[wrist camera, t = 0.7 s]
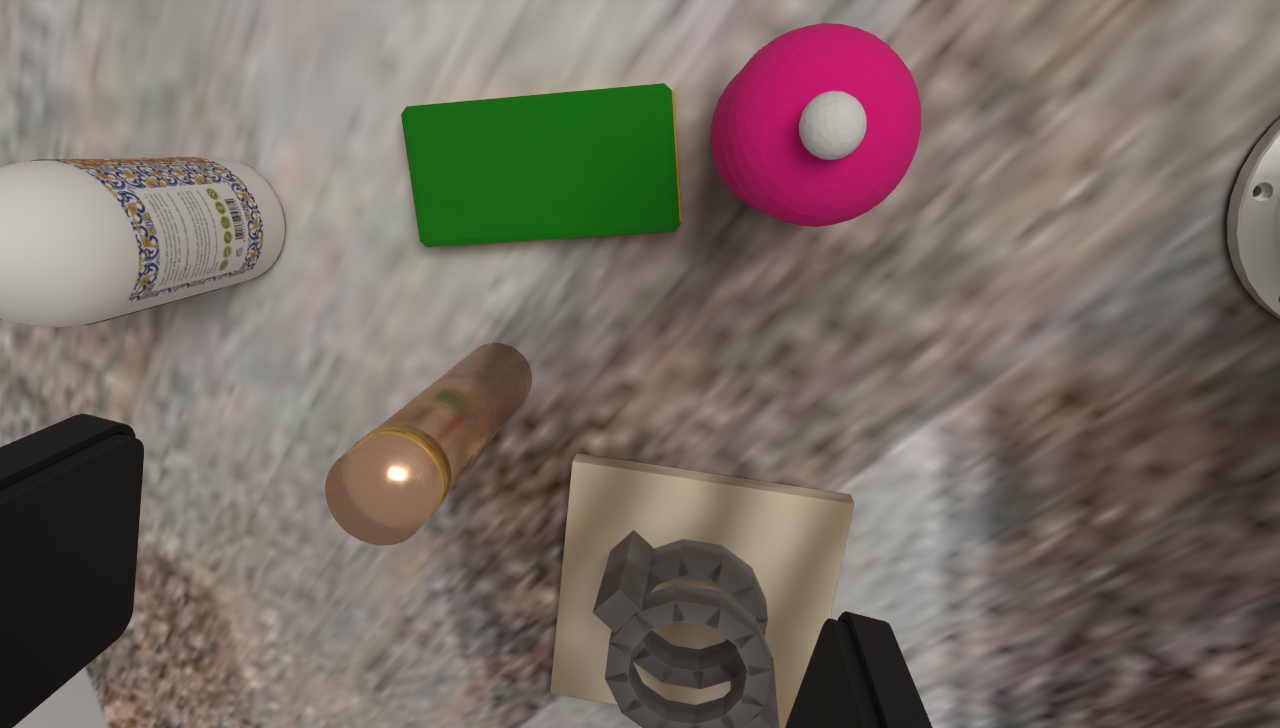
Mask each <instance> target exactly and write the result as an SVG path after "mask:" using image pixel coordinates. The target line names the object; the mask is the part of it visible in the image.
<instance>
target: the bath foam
mask: <svg viewBox="0 0 1280 728" xmlns="http://www.w3.org/2000/svg"><path fill="white" fill-rule="evenodd" d="M284 236H285V222H284V216H283V212H282V208H281V205H280V203H279V201H278V198H277V196H276V195H275V193H274V191H273V190H272V188H271V187H270V186H269V184H268V183H267V182H266V181H265V180H264V179H263V178H262V177H261V176H260V175H259V174H258V173H257V172H255V171H254V170H253V169H251V168H250V167H248V166H246V165H244V164H242V163H240V162H237V161H235V160H231V159H227V158H220V157H168V158H110V159H52V160H34V161H29V162H22V163H17V164H12V165H8V166H4V167H1V168H0V319H4V320H7V321H10V322H15V323H19V324H24V325H31V326H39V327H69V326H78V325H88V324H95V323H98V322H102V321H105V320H109V319H113V318H116V317H120V316H123V315H127V314H131V313H134V312H138V311H142V310H145V309H149V308H152V307H156V306H160V305H163V304H167V303H170V302H174V301H178V300H181V299H185V298H188V297H192V296H196V295H199V294H203V293H206V292H210V291H214V290H217V289H221V288H222V287H226V286H230V285H233V284H237V283H240V282H244V281H247V280H250V279H253V278H255V277H257V276H259V275H261V274H262V273H264V272H265V271H267V270H268V269H269V268H270V267H271V266H272V265H273V263H274V262H275V261H276V259H277V258H278V256H279V254H280V252H281V249H282V246H283V242H284Z"/></svg>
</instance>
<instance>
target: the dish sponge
mask: <svg viewBox="0 0 1280 728" xmlns="http://www.w3.org/2000/svg"><path fill="white" fill-rule="evenodd" d="M401 116H402V123H403V129H404V136H405V143H406V150H407V156H408V163H409V170H410V177H411V183H412V190H413V197H414V203H415V210H416V217H417V224H418V230H419V237H420V241H421V242H422V243H423V244H424V245H425V246H427V247H433V246H449V245H464V244H480V243H495V242H511V241H526V240H541V239H557V238H572V237H588V236H603V235H619V234H634V233H650V232H665V231H674V230H675V228H676V227H677V226H678V225H679V224H680V222H681V221H682V214H681V197H680V180H679V164H678V147H677V131H676V114H675V97H674V92H673V91H672V90H671V89H670V88H668V87H667V86H666V85H665V84H664V83H663V84H652V85H641V86H630V87H619V88H608V89H597V90H586V91H574V92H563V93H552V94H541V95H530V96H519V97H508V98H497V99H486V100H475V101H464V102H453V103H441V104H430V105H419V106H408V107H406V108H405V110H404V111H403V112H402V114H401Z"/></svg>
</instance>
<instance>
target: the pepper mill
mask: <svg viewBox="0 0 1280 728" xmlns="http://www.w3.org/2000/svg"><path fill="white" fill-rule="evenodd" d="M920 130H921V105H920V100H919V95H918V90H917V87H916V85H915V82H914V80H913V77H912V75H911V73H910V71H909V70H908V68H907V67H906V65H905V64H904V63H903V61H902V60H901V58H900V57H899V56H898V55H897V54H896V53H895V52H894V51H893V50H892V49H891V48H890V47H889V46H888V45H887V44H886V43H884V42H883V41H882V40H880V39H879V38H877V37H876V36H875V35H873V34H870V33H868V32H866V31H864V30H861V29H859V28H856V27H851V26H847V25H843V24H828V23H823V24H817V25H811V26H806V27H803V28H799V29H796V30H792V31H790V32H788V33H786V34H784V35H781V36H779V37H777V38H776V39H774V40H773V41H771V42H770V43H768V44H767V45H766V46H764V47H763V48H762V49H760V50H759V51H758V52H757V53H756V54H755V55H754V56H753V57H752V58H751V59H750V60H749V62H748V63H747V64H746V65H745V66H744V68H743V69H742V70H741V71H740V72H739V73H738V74H737V75H736V76H735V77H734V78H733V80H732V81H731V82H730V83H729V84H728V86H727V87H726V89H725V91H724V92H723V94H722V95H721V97H720V99H719V101H718V104H717V107H716V109H715V112H714V115H713V120H712V126H711V148H712V154H713V158H714V162H715V165H716V167H717V170H718V172H719V174H720V176H721V178H722V179H723V181H724V182H725V184H726V185H727V187H728V188H729V189H730V190H731V191H732V192H733V193H734V194H735V195H736V196H737V197H738V198H739V199H741V200H742V201H743V202H744V203H746V204H748V205H750V206H752V207H754V208H755V209H758V210H761V211H764V212H766V213H768V214H769V215H771V216H773V217H775V218H777V219H780V220H782V221H785V222H788V223H792V224H796V225H801V226H815V227H818V226H826V225H833V224H837V223H840V222H844V221H847V220H851V219H853V218H855V217H857V216H859V215H862V214H864V213H866V212H868V211H869V210H871V209H872V208H873V207H875V206H876V205H878V204H879V203H880V202H882V201H883V200H884V199H885V198H886V197H887V196H888V195H889V194H890V193H891V192H892V191H893V190H894V189H895V188H896V186H897V185H898V184H899V182H900V181H901V179H902V178H903V177H904V175H905V173H906V171H907V169H908V167H909V166H910V164H911V162H912V160H913V157H914V154H915V152H916V149H917V145H918V141H919V135H920Z"/></svg>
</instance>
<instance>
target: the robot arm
mask: <svg viewBox="0 0 1280 728" xmlns="http://www.w3.org/2000/svg"><path fill="white" fill-rule="evenodd" d="M1254 188H1255V193H1254V194H1253V190H1254ZM1227 240H1228V248H1229V252H1230V256H1231V260H1232V264H1233V267H1234V269H1235V271H1236V273H1237V275H1238V277H1239V279H1240V281H1241V283H1242V284H1243V286H1244V288H1245V289H1246V290H1247V291H1248V292H1249V293H1250V295H1251V296H1252V297H1253V298H1254V299H1255V300H1256V302H1257V303H1258V304H1259V305H1261V306H1262V307H1264V308H1265V309H1266V310H1268V311H1269V312H1270V313H1272V314H1273V315H1275V316H1276V317H1277V318H1280V297H1279V296H1280V119H1278V120H1277V121H1276V122H1275V123H1274V124H1273V125H1272V126H1271V128H1270V129H1269V130H1268V131H1267V132H1266V134H1265V135H1264V136H1263V137H1262V138H1261V140H1260V141H1259V142H1258V143H1257V144H1256V146H1255V147H1254V149H1253V150H1252V152H1251V154H1250V156H1249V157H1248V159H1247V161H1246V162H1245V164H1244V166H1243V167H1242V169H1241V171H1240V174H1239V176H1238V179H1237V182H1236V184H1235V187H1234V190H1233V192H1232V195H1231V200H1230V206H1229V211H1228V217H1227ZM143 460H144V446H143V444H142V442H141V441H140V440H139V439H136V438H135V433H134V431H133V429H132V428H131V427H130V426H129V425H126V424H123V423H119V422H115V421H111V420H107V419H103V418H99V417H96V416H92V415H87V414H80V415H75V416H73V417H71V418H68V419H66V420H64V421H61V422H59V423H56V424H54V425H52V426H49V427H47V428H45V429H42V430H40V431H38V432H35V433H33V434H31V435H28V436H26V437H24V438H21V439H19V440H17V441H14V442H12V443H10V444H7V445H5V446H3V447H0V728H12V727H14V726H15V725H16V724H18V723H19V722H20V721H21V720H22V719H23V718H25V717H26V716H27V715H28V714H29V713H31V712H32V711H33V710H34V709H35V708H36V707H38V706H39V705H40V704H41V703H42V702H44V701H45V700H46V699H47V698H48V697H50V696H51V695H52V694H53V693H54V692H55V691H57V690H58V689H59V688H60V687H61V686H63V685H64V684H65V683H66V682H67V681H68V680H70V679H71V678H72V677H73V676H74V675H76V674H77V673H78V672H79V671H80V670H81V669H83V668H84V667H85V666H86V665H87V664H89V663H90V662H91V661H92V660H93V659H95V658H96V657H97V656H98V655H99V654H100V653H102V652H103V651H104V650H105V649H106V648H108V647H109V646H110V645H111V644H112V643H113V642H115V641H116V640H117V639H118V638H119V637H120V636H121V635H122V633H123V632H124V631H125V629H126V627H127V626H128V624H129V622H130V619H131V616H132V613H133V605H134V591H135V576H136V562H137V547H138V533H139V518H140V504H141V489H142V475H143ZM785 728H932V726H931V723H930V721H929V718H928V716H927V713H926V711H925V709H924V706H923V704H922V701H921V699H920V696H919V694H918V692H917V689H916V687H915V684H914V682H913V679H912V677H911V675H910V672H909V670H908V667H907V665H906V662H905V660H904V658H903V655H902V653H901V650H900V648H899V645H898V643H897V641H896V638H895V636H894V633H893V631H892V628H891V627H890V625H889V623H887V622H885V621H881V620H877V619H873V618H869V617H866V616H862V615H858V614H854V613H850V612H844V613H842V614H841V616H840V617H839V619H838V621H837V620H833V619H827V620H826V621H825V622H824V624H823V626H822V628H821V631H820V634H819V637H818V639H817V642H816V645H815V647H814V650H813V653H812V656H811V658H810V661H809V664H808V666H807V669H806V672H805V675H804V677H803V680H802V683H801V685H800V688H799V691H798V694H797V696H796V699H795V702H794V704H793V707H792V710H791V713H790V715H789V718H788V721H787V723H786V726H785Z"/></svg>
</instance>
